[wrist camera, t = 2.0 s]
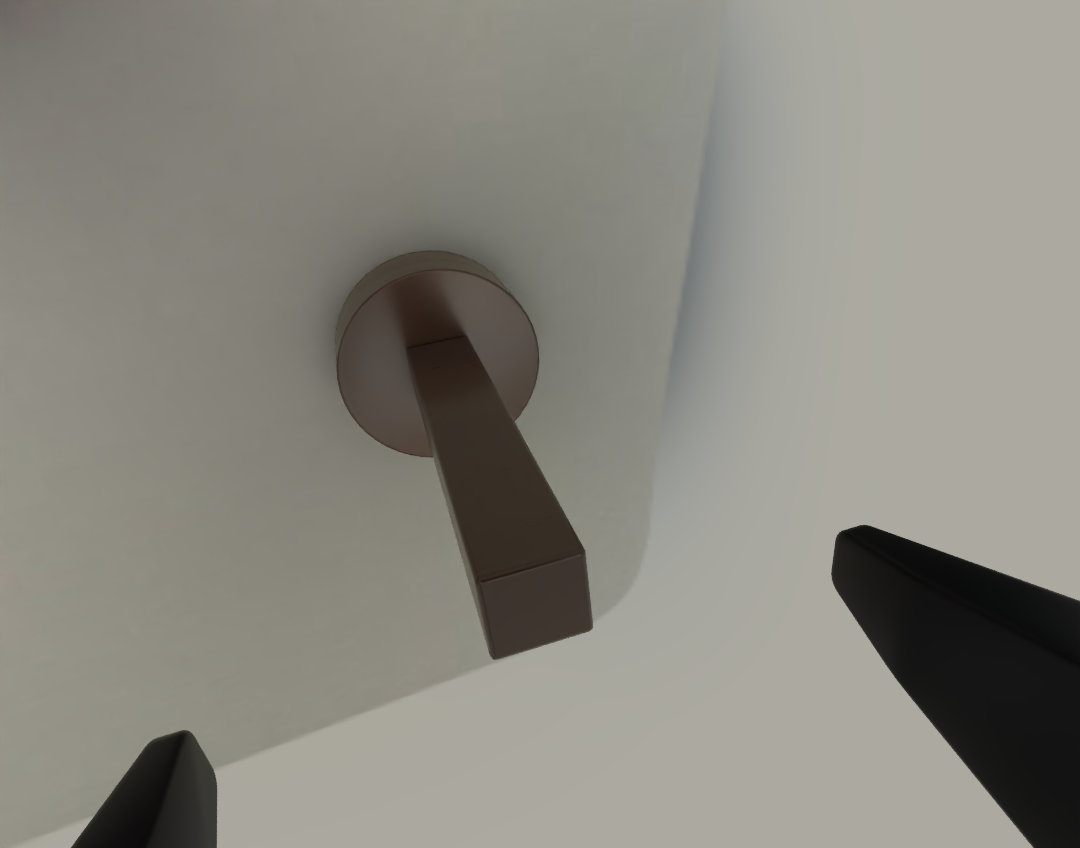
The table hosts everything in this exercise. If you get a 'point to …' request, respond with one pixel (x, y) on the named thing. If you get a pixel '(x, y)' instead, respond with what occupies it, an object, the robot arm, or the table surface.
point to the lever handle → (467, 433)
